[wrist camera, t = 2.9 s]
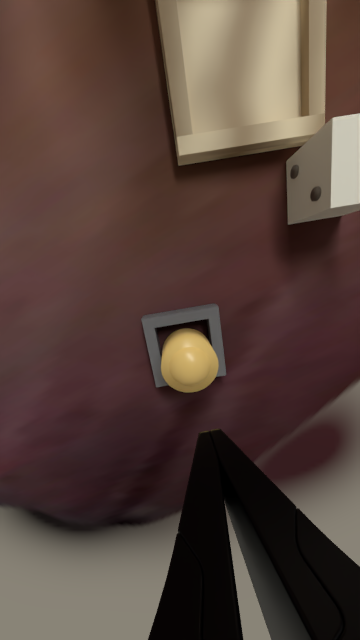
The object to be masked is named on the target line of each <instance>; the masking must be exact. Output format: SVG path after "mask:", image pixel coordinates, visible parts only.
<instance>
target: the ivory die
mask: <svg viewBox="0 0 360 640" xmlns="http://www.w3.org/2000/svg"><path fill="white" fill-rule="evenodd" d="M286 171H287V211H288V225H289V224H295V223H301V222H307V221H313V220H319V219H325V218H331V217H338V216H343V215H346V214H349V213H352V212H355V211H358V210H360V113H359V114H353V115H347V116H341V117H334V118H332V119H331V120H330V121H329V122H328V123H327V124H325V125H324V126H323V127H322V128H321V129H320V130H319V131H318V132H317V133H316V134H315V135H314V136H313V137H312V138H311V139H309V140H308V141H307V142H306V143H305V144H304V145H303V146H302V147H301V148H300V149H299V150H298V151H297V152H296V153H294V154H293V155H292V156H291V157H290V158H289V159H288V160H287V161H286Z"/></svg>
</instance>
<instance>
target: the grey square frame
mask: <svg viewBox="0 0 360 640" xmlns="http://www.w3.org/2000/svg"><path fill="white" fill-rule="evenodd" d="M204 319H206V321H207V328H208V335H209V343H210V344H211V346H212V348H213V350H214V351H215V353H216V355H217V358H218V364H219V367H218V372H217V375H216V377H218V376H224V375H226V368H225V359H224V351H223V342H222V334H221V325H220V317H219V308H218V306H217V305H216V304H215V303H214V304H208V305H202V306H197V307H191V308H185V309H179V310H173V311H167V312H162V313H156V314H150V315H144V316H143V317H142V319H141V320H142V324H143V329H144V333H145V338H146V343H147V347H148V352H149V356H150V361H151V365H152V370H153V375H154V379H155V384H156V387H162V386H167V385H168V384H167V382H166V381H165V380H164V378H163V376H162V372H161V360H162V353H161V348H160V343H159V338H158V333H157V327H163V326H169V325H175V324H180V323H186V322H192V321H198V320H204Z"/></svg>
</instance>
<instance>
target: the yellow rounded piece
mask: <svg viewBox="0 0 360 640" xmlns="http://www.w3.org/2000/svg"><path fill="white" fill-rule="evenodd" d="M218 367H219V364H218V358H217V355H216V353H215V351H214V350H213V348H212V346H211V344H210V343H209V341H208V339H207V338H206V336H205V335H204V334H202V333H201V332H200V331H198V330H195V329H191V328H183V329H179V330H176V331H175V332H173V333H171V334H170V335H169V336H168V337H167V339H166V340H165V342H164V344H163V349H162V360H161V372H162V376H163V378H164V380H165V381H166V382H167V384H168V385H169V386H171V387H172V388H174V389H175V390H178V391H181V392H196V391H200V390H202V389H204V388H206V387H207V386H208V385H210V384H211V383H212V382H213V380H214V379H215V377H216V375H217V372H218Z"/></svg>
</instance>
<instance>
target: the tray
mask: <svg viewBox="0 0 360 640" xmlns="http://www.w3.org/2000/svg"><path fill="white" fill-rule="evenodd" d="M326 2H327V0H155V6H156V13H157V20H158V27H159V34H160V41H161V48H162V55H163V62H164V69H165V76H166V83H167V90H168V97H169V104H170V111H171V118H172V125H173V132H174V139H175V146H176V153H177V160H178V166H181V165H187V164H193V163H199V162H205V161H212V160H218V159H224V158H230V157H236V156H243V155H249V154H255V153H261V152H267V151H273V150H280V149H286V148H292V147H298V146H303V145H304V144H305V143H306V142H307V141H308V140H309V139H311V138H312V137H313V136H314V135H315V134H316V133H317V132H318V131H319V130H320V129H321V128H322V127H323V126H324V125H325V70H326Z"/></svg>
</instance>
